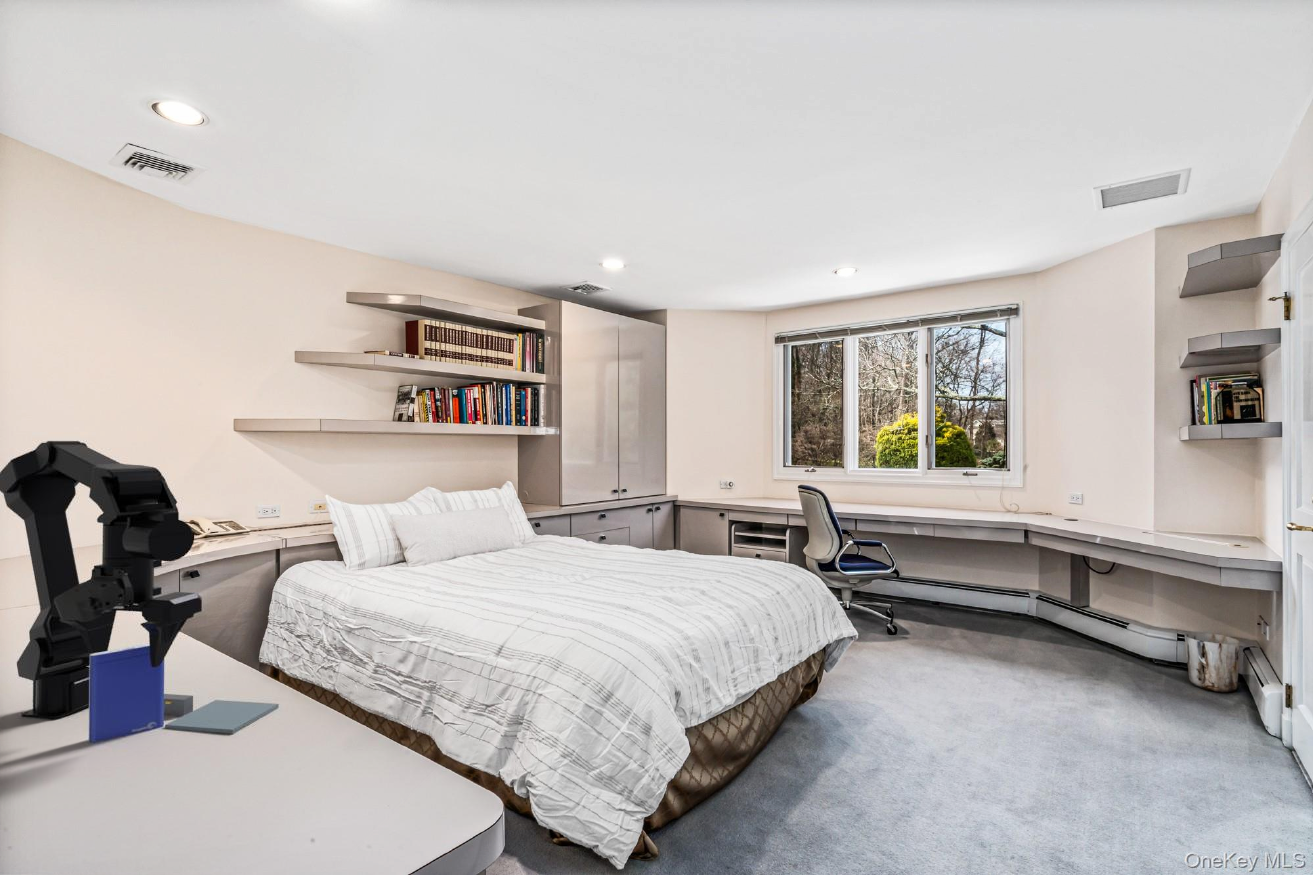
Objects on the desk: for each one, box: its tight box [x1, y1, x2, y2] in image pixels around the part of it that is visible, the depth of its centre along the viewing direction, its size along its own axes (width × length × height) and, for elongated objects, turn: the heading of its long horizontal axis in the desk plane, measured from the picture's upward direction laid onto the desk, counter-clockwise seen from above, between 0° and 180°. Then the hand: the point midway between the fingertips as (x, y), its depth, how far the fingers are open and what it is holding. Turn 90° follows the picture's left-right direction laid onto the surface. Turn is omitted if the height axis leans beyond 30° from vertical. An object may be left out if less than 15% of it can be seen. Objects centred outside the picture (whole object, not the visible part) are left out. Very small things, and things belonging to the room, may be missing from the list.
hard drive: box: [88, 643, 165, 744], centre depth 90 cm, size 2×8×12 cm, turn 137°
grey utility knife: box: [164, 693, 194, 717], centre depth 98 cm, size 12×2×2 cm, turn 82°
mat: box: [164, 699, 279, 735], centre depth 96 cm, size 11×9×1 cm
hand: (127, 664), depth 90 cm, fingers open, 9 cm apart
